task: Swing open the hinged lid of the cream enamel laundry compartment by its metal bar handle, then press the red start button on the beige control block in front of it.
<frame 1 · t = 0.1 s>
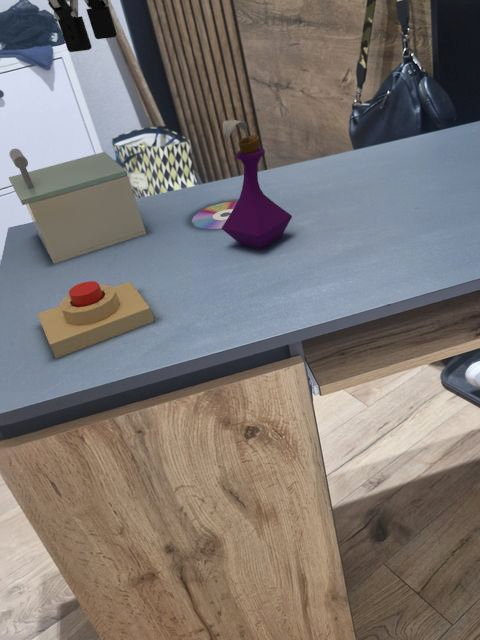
hand: (94, 43, 91), 28 cm above the table, tool pointing down, fingers open, 9 cm apart
control block: (98, 325, 80), on the table
lid: (61, 161, 98), point 13 cm above the table, hinge at 0.0°
compartment: (92, 236, 105), on the table
start button: (86, 294, 78), point 4 cm above the table, slide at 0.1 cm
perfume bottle: (261, 243, 95), on the table
cd: (225, 216, 106), on the table
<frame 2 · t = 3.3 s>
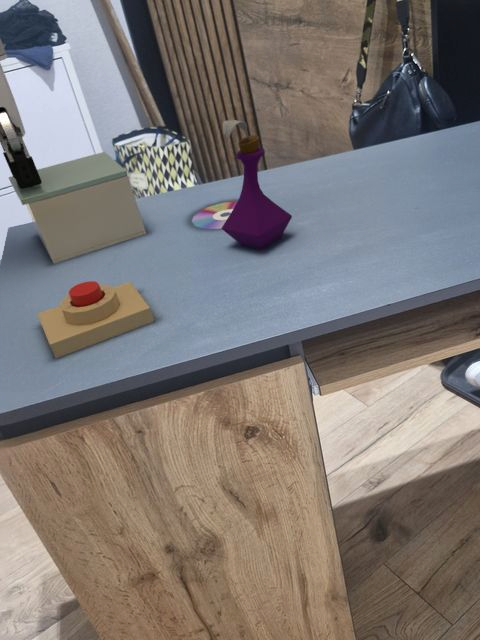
hand: (27, 179, 96), 11 cm above the table, tool pointing down, fingers closed on lid, 5 cm apart
lid: (61, 161, 98), point 13 cm above the table, hinge at 0.0°, touching gripper
everything else where it was.
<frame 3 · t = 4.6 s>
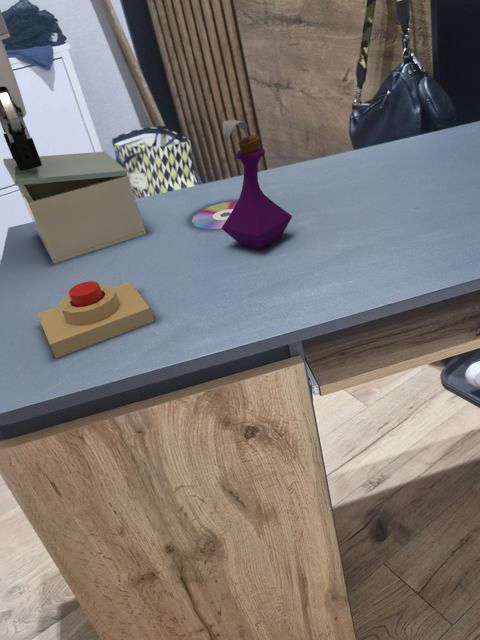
hand: (27, 161, 95), 14 cm above the table, tool pointing down, fingers closed on lid, 5 cm apart
lid: (61, 151, 97), point 14 cm above the table, hinge at 10.7°, touching gripper
everything else where it was.
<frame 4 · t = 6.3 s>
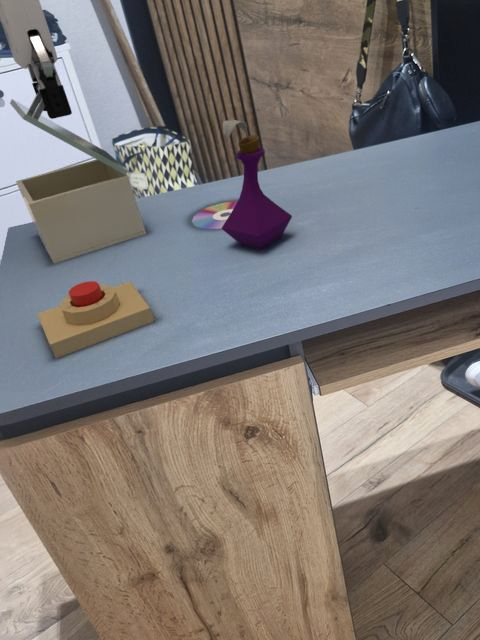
hand: (56, 111, 95), 20 cm above the table, tool pointing down, fingers closed on lid, 5 cm apart
lid: (76, 122, 97), point 17 cm above the table, hinge at 45.5°, touching gripper
everything else where it was.
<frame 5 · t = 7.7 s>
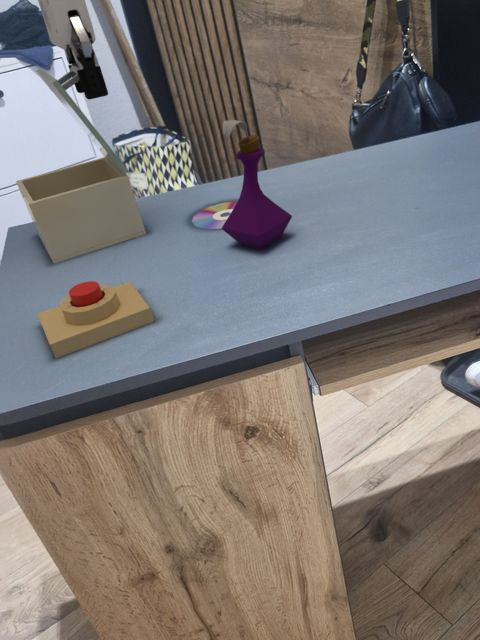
hand: (92, 92, 96), 21 cm above the table, tool pointing down, fingers closed on lid, 5 cm apart
lid: (95, 111, 97), point 18 cm above the table, hinge at 69.1°, touching gripper
everything else where it was.
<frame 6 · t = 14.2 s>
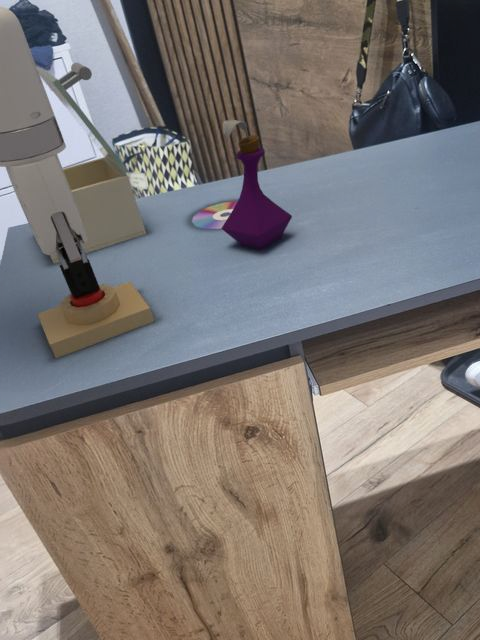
hand: (85, 292, 78), 5 cm above the table, tool pointing down, fingers closed
lid: (95, 111, 97), point 18 cm above the table, hinge at 69.5°
start button: (87, 298, 78), point 4 cm above the table, slide at -0.4 cm, touching gripper
everything else where it was.
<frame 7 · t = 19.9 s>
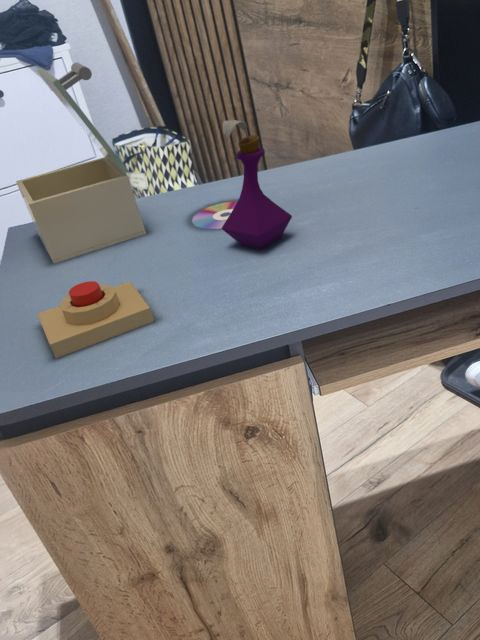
start button: (86, 294, 78), point 4 cm above the table, slide at 0.1 cm
everything else where it was.
at the end: lid at +70° (first picture: +0°); start button pushed in 1.0 cm at the most during the clip, back to where it started at the end; start button slide at 0.1 cm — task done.
